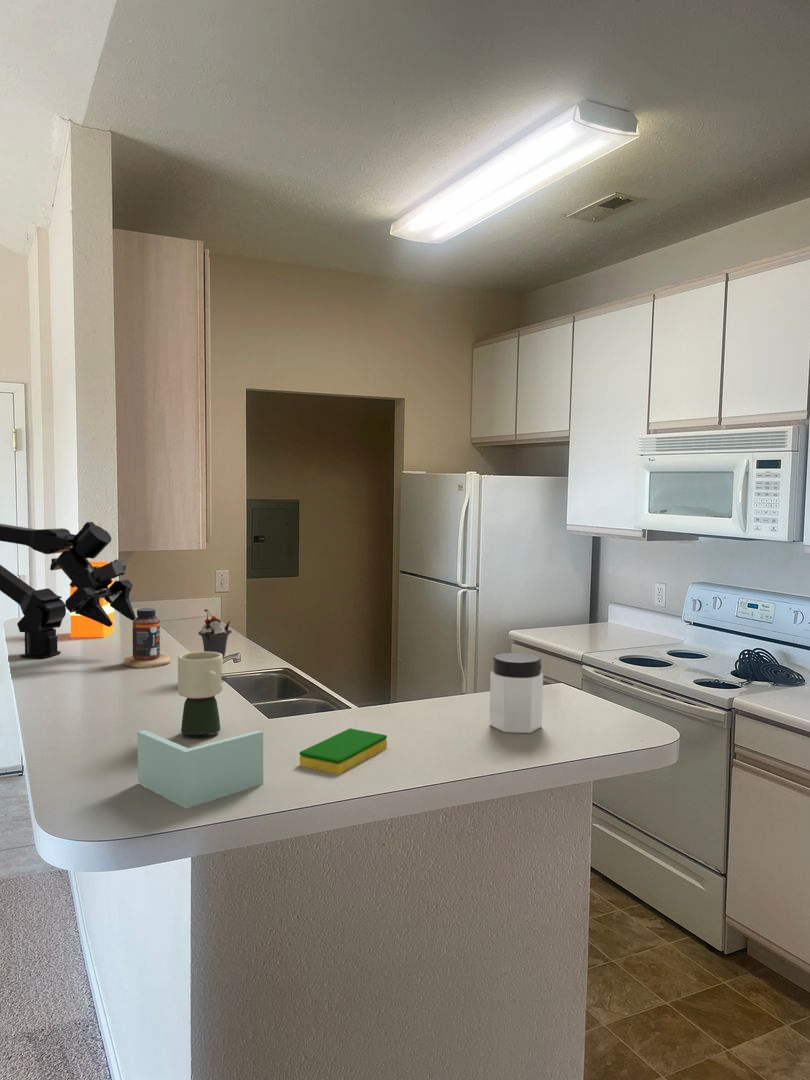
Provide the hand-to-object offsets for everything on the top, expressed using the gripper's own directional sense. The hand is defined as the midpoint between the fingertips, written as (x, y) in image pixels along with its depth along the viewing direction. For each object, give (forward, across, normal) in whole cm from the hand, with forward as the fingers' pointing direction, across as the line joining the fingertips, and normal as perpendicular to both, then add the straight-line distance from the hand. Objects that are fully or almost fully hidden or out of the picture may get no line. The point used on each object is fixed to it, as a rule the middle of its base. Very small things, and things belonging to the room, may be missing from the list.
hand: (123, 622), depth 182 cm
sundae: (+26, -10, -14) cm, 31 cm away
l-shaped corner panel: (+44, -64, -32) cm, 84 cm away
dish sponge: (+54, -48, -43) cm, 84 cm away
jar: (+71, -26, -60) cm, 96 cm away
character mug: (+36, -44, -24) cm, 62 cm away
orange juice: (-11, +26, +25) cm, 38 cm away
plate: (+11, 0, +2) cm, 11 cm away
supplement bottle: (+10, 0, +1) cm, 10 cm away
